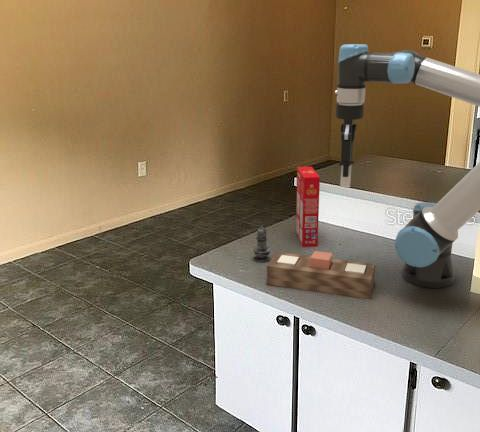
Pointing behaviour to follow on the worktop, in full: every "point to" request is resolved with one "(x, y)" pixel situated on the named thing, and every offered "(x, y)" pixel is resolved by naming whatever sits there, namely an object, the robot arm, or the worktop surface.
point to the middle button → (321, 260)
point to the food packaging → (307, 206)
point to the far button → (288, 260)
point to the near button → (355, 268)
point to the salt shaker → (261, 246)
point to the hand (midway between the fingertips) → (345, 186)
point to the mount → (321, 277)
